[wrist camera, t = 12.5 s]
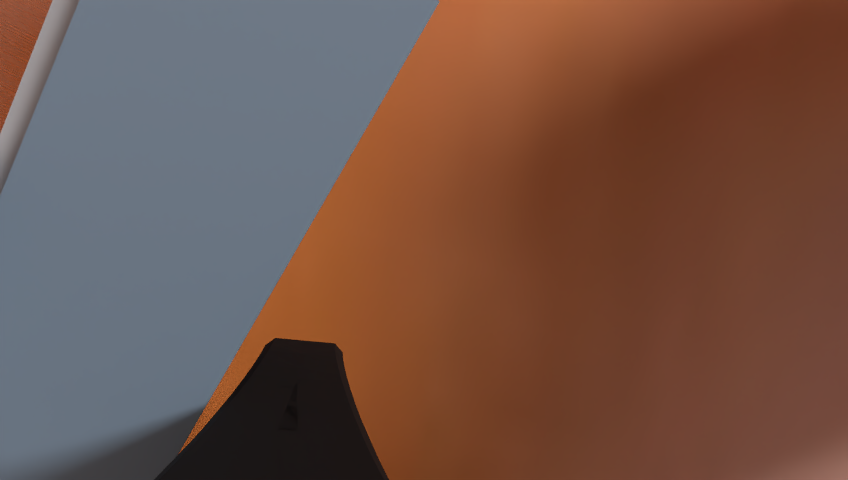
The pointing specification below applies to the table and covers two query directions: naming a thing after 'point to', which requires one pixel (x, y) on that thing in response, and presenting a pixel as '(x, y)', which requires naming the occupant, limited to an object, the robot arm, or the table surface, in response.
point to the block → (17, 44)
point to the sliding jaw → (165, 207)
